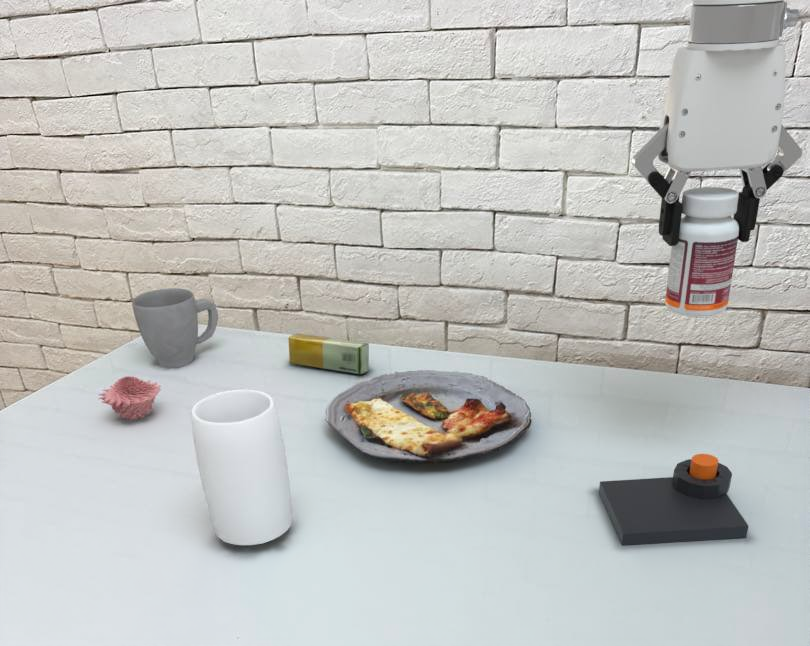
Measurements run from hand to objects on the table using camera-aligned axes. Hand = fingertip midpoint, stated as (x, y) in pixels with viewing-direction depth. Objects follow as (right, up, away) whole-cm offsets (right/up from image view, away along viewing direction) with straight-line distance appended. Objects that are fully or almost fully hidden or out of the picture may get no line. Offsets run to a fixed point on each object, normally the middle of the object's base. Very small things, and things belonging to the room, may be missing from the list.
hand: (704, 238), depth 84 cm
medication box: (-40, -5, +39) cm, 56 cm away
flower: (-65, -14, +28) cm, 72 cm away
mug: (-63, -3, +45) cm, 77 cm away
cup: (-45, -29, +3) cm, 53 cm away
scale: (-3, -27, +2) cm, 27 cm away
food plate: (-27, -16, +21) cm, 38 cm away
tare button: (+1, -23, +3) cm, 23 cm away
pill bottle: (0, -6, +4) cm, 7 cm away
